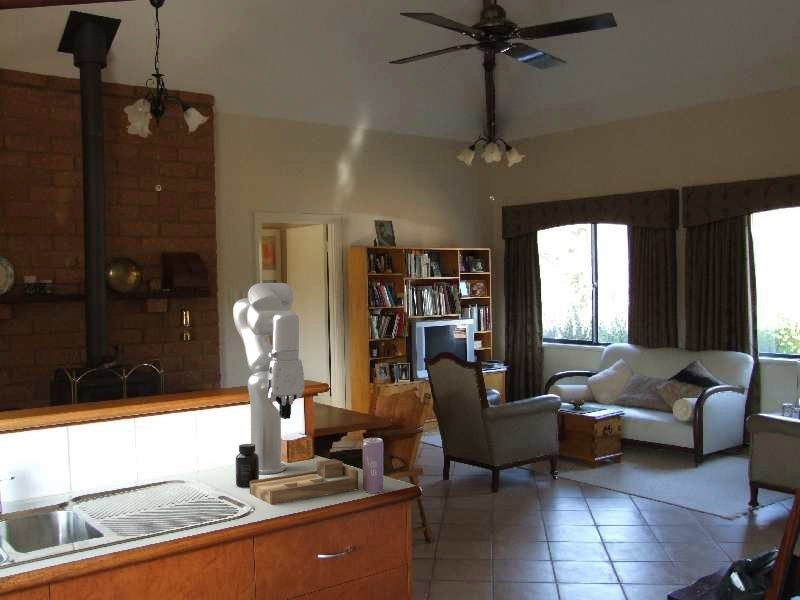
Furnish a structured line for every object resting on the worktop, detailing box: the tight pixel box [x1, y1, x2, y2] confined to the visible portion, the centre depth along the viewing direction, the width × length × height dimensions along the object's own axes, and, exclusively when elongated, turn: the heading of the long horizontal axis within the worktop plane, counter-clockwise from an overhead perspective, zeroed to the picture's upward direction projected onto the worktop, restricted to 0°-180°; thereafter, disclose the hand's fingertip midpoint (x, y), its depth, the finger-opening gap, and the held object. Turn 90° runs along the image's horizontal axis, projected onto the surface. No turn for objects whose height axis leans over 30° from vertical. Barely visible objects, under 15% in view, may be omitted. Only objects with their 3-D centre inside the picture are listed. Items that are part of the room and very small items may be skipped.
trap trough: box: [249, 464, 359, 505], centre depth 236 cm, size 14×28×6 cm, turn 125°
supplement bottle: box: [235, 443, 260, 488], centre depth 243 cm, size 7×7×12 cm
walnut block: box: [316, 458, 344, 478], centre depth 243 cm, size 5×6×4 cm
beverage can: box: [362, 437, 384, 494], centre depth 237 cm, size 6×6×15 cm
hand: (285, 417), depth 239 cm, fingers closed
